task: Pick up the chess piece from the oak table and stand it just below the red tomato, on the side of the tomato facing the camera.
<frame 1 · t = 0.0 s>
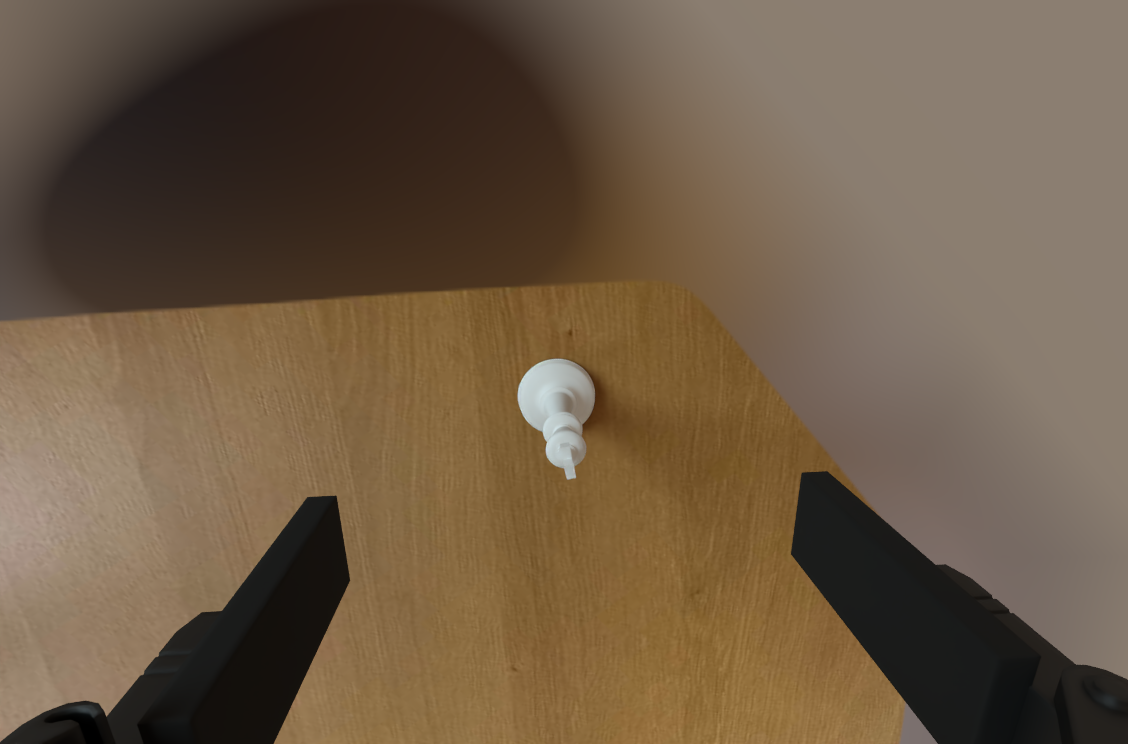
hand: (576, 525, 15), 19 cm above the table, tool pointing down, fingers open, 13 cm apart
chess piece: (556, 394, 34), on the table
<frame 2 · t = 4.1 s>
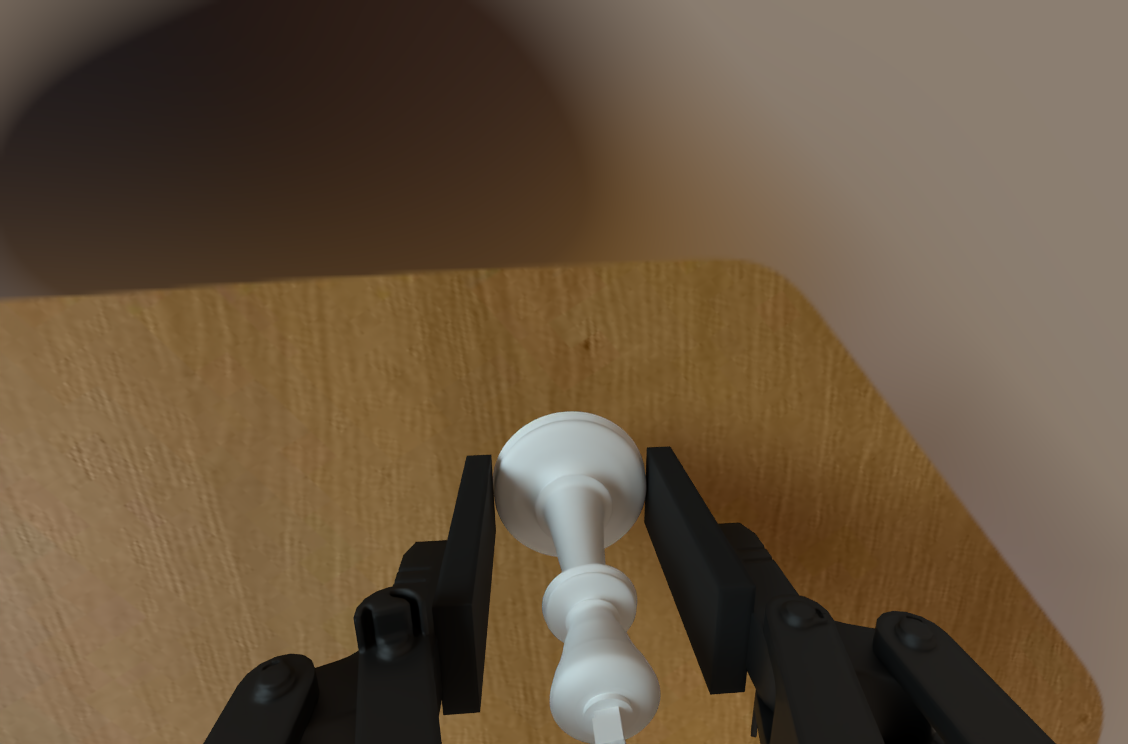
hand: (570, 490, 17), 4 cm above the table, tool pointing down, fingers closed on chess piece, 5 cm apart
chess piece: (568, 478, 17), point 4 cm above the table, touching gripper
when the fingers open (0 cm above the table, at t = 10.3 s): chess piece stays where it is, on the table.
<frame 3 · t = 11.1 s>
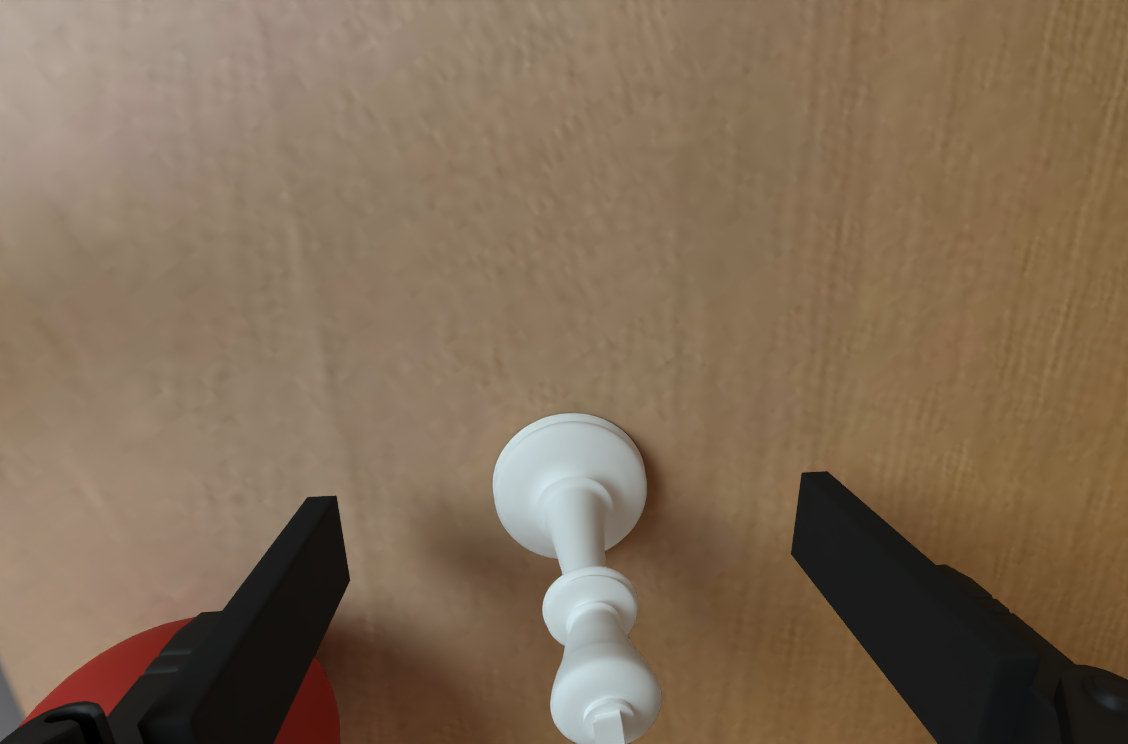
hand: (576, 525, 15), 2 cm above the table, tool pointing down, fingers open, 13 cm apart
tomato: (252, 657, 18), on the table
chess piece: (569, 480, 17), on the table
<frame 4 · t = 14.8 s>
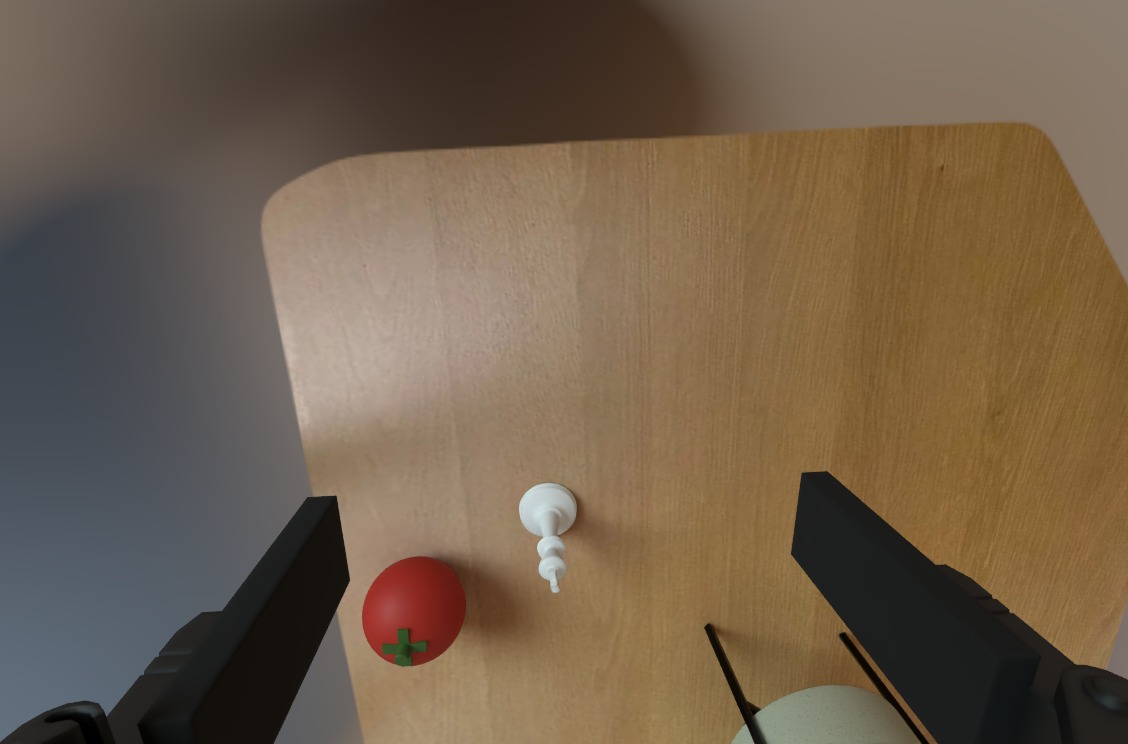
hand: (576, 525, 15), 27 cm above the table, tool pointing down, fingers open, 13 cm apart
tomato: (424, 576, 46), on the table
chess piece: (547, 507, 45), on the table
planter: (763, 665, 52), on the table
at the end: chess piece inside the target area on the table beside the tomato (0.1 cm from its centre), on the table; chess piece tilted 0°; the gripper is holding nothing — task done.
